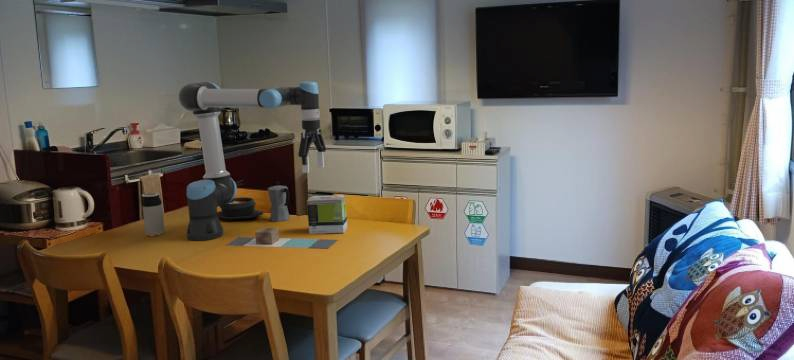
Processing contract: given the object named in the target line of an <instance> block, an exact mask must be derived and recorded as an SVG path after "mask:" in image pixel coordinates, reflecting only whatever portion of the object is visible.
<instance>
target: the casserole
mask: <svg viewBox="0 0 794 360" xmlns="http://www.w3.org/2000/svg"><path fill="white" fill-rule="evenodd" d="M256 204H257V202H255V200H254V198H252V197H247V196H246V197H242V196H241V197H234V198H233V199H232V200H231V201H230V202H228V203H227V204H224V205H221V206H219V208H220V211H217V213H218V218H221V219H226V220H229V221H242V219H243V220H247V219H252V218H258V217H260V216H263V215H264V214H265V212H264V211H260V210H257V209H255V208H256V207H255V206H256Z"/></svg>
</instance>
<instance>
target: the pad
mask: <svg viewBox="0 0 794 360" xmlns="http://www.w3.org/2000/svg"><path fill="white" fill-rule="evenodd" d="M319 239H320V238H315V239H314V238H290V240H289V241H288V242H286V243H285V244H283V245H282V246H280V247H279V248H301V249H302V248H303V249H304V248H305V249H307V248H308V249H310V248H309V247H310V246H311V245H313V244H314V243H315V242H316V241H318V240H319Z"/></svg>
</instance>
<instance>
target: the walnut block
mask: <svg viewBox="0 0 794 360" xmlns="http://www.w3.org/2000/svg"><path fill="white" fill-rule="evenodd" d="M254 232H255V233H254V236H255V237H254V238H256V244H265V245H272V244H274V243H275V242H277V241H278V240H279V238H280V233H279V232H280V231H279V227H261V228H260V229H258V230H256V231H254Z"/></svg>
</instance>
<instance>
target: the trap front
mask: <svg viewBox="0 0 794 360" xmlns="http://www.w3.org/2000/svg"><path fill="white" fill-rule="evenodd" d="M318 239H319V240H318V241H316V242H315V243H314V244H313V245H311V246H310V247H309V248H308V249H320V250H321V249H323V250H327V249H330V247H332V246H334V244H336V242H338V241H339V240H338V239H328V238H327V239H324V238H321V239H320V238H318Z"/></svg>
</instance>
